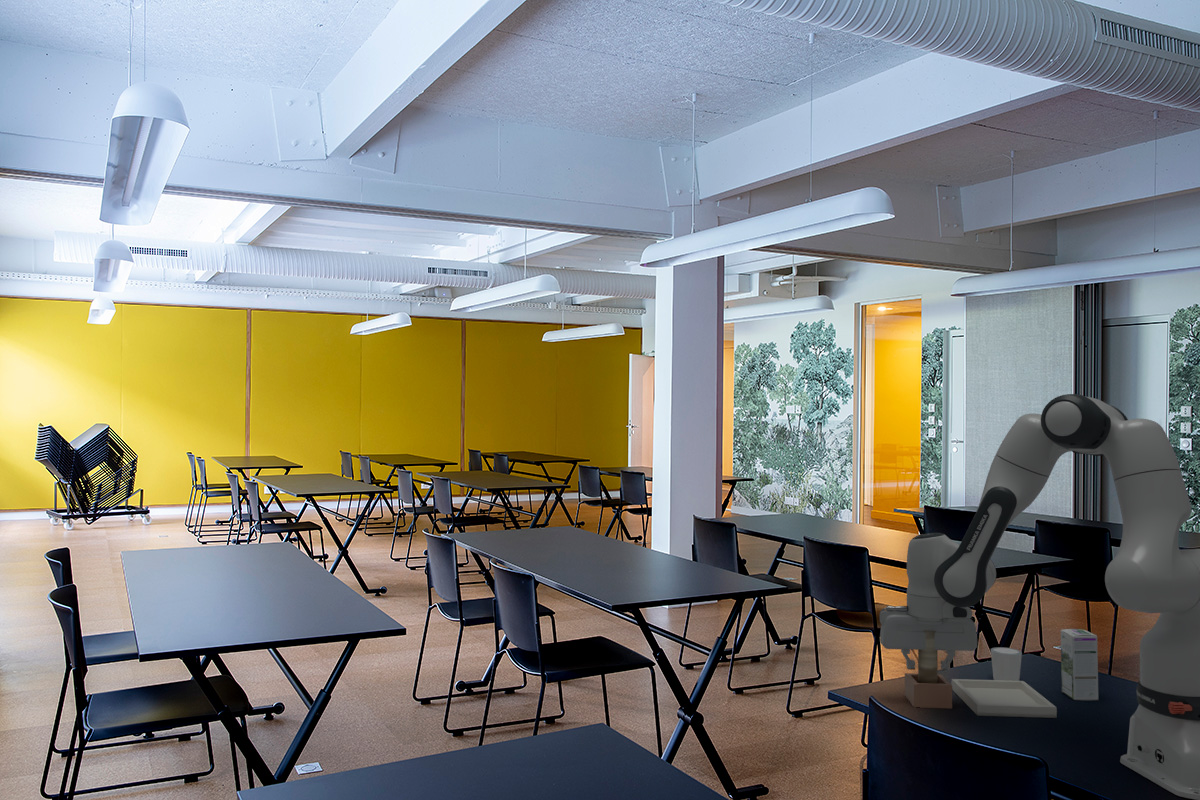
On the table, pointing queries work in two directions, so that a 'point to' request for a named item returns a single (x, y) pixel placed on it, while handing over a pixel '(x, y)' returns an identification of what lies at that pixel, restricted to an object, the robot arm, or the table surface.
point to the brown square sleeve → (928, 692)
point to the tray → (1003, 698)
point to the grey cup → (1006, 663)
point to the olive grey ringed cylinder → (928, 661)
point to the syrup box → (1079, 664)
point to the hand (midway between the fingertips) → (928, 669)
